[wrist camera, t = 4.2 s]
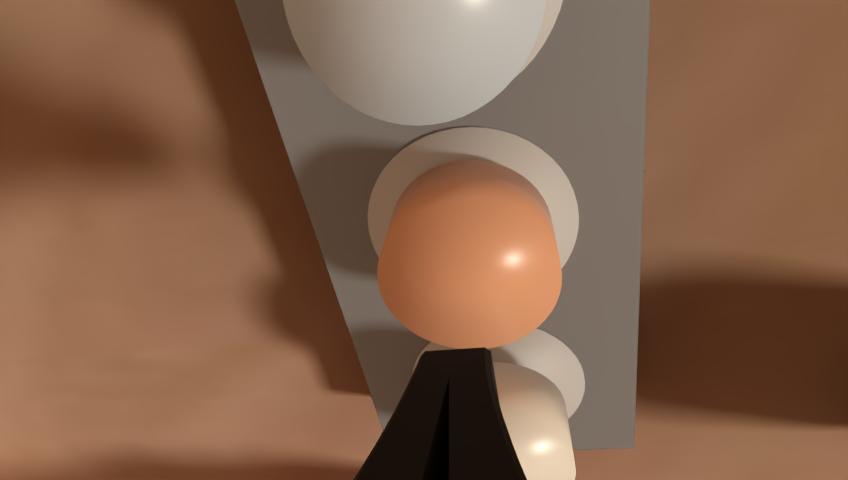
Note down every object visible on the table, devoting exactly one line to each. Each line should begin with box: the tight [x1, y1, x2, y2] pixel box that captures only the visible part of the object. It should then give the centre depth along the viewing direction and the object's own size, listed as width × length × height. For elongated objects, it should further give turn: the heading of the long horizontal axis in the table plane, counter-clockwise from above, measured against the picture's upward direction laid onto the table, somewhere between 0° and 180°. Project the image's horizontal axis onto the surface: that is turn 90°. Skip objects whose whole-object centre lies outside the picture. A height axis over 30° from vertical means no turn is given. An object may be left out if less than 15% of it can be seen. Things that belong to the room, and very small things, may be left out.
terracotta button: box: [377, 160, 562, 349], centre depth 15 cm, size 5×5×2 cm
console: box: [234, 0, 650, 450], centre depth 17 cm, size 22×10×3 cm, turn 11°
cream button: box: [493, 362, 576, 480], centre depth 18 cm, size 5×5×2 cm
